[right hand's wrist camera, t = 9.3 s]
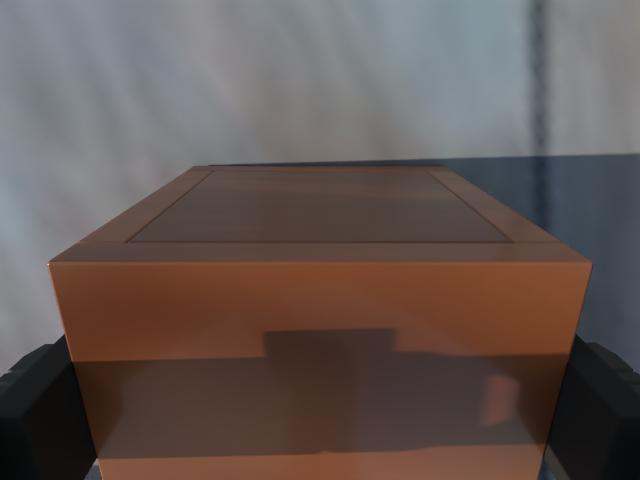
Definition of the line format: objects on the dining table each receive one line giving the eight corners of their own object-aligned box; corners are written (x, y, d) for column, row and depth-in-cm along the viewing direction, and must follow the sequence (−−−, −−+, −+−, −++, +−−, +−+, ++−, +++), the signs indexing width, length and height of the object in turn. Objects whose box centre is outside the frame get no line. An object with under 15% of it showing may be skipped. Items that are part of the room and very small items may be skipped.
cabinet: (410, 491, 24) (468, 750, 14) (229, 491, 23) (171, 751, 14) (446, 165, 17) (595, 261, 8) (193, 165, 17) (44, 261, 8)
